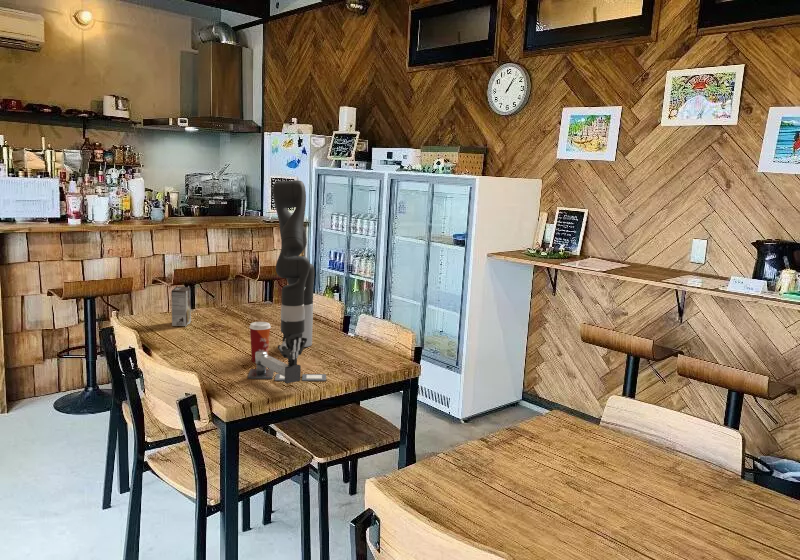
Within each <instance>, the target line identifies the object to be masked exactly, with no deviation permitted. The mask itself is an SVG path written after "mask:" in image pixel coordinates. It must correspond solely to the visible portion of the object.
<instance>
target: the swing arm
mask: <svg viewBox="0 0 800 560" xmlns="http://www.w3.org/2000/svg"><path fill="white" fill-rule="evenodd" d="M255 364H261V365H263V366H265V367H266V369H271V370H273V371H274V373H276V374H280V375H282V376H284V377H285V381H284V384H291V383H295V382H300V381H301V371H302V370H301V368H302V367H301V365H300V364H297V365H294V366H289V365H288V363H285V362H283V361H281V360H279V359H277V358H275V357H273V356H271V355H269V354H268V355H267V351H257V352H255Z"/></svg>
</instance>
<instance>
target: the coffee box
mask: <svg viewBox="0 0 800 560" xmlns="http://www.w3.org/2000/svg"><path fill="white" fill-rule="evenodd" d="M170 294H171V327H172V326H185V327H184V328H186V326H187V325H188V324H189V325H190V323H192V303H191V302H192V301H191V299H192V298H191V287H186V286H175V287H174V288H173V289H172V290H171V292H170ZM189 325H188V326H189ZM188 326H187V327H188Z"/></svg>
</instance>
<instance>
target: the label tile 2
mask: <svg viewBox="0 0 800 560" xmlns="http://www.w3.org/2000/svg"><path fill="white" fill-rule="evenodd" d="M301 381H302V382H327V374H326V373H302V377H301Z"/></svg>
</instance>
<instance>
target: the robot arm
mask: <svg viewBox="0 0 800 560" xmlns="http://www.w3.org/2000/svg"><path fill="white" fill-rule="evenodd" d="M272 198H273V203H274V207H275V211H276V213H277V214H276V215H277V219H278V223H279V234H280V240H281V241H280V242H281V244H280V245H281V249H280V252H279V255H278V258H277V261H276V263H275V272H276V274H277V276H278V277H279V278H280V279H286V282H287V284H286V285H284V286H282V289H281V306H280V307H281V308H280V332H281V333H282V335H283V336H282V343H281V344H278V345H277V350H278V351H279V353H280V354H281V355H282V357H283V358H284V359H287V360H288V361H287V365H289V366H294V365H298V358H299V356H301V355H302V353H303V351H304V348H307V347H311V346H312V345H313V325H314V324H313V322H314V318H313V317H314V285H315V266H314V264H312V263H310V260H309V258H308V257H307V256H305V255H304V256H303V255H302V254H303V252H304V250H305V249H306V247H307V242H308V241H307V240H308V239H307V233H306V228H305V226H304V222H305V216H306V204H307V203H306V202H307V192H306V185H305V183H304V182H303V181H302V180H295V179H294V180H282V181H276V182H274V184H273V186H272ZM288 208H289V209H290V208H293V209H294V208H295V209H294V211H293V212H292V213H291V212H290V211H289V209H288Z"/></svg>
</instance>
